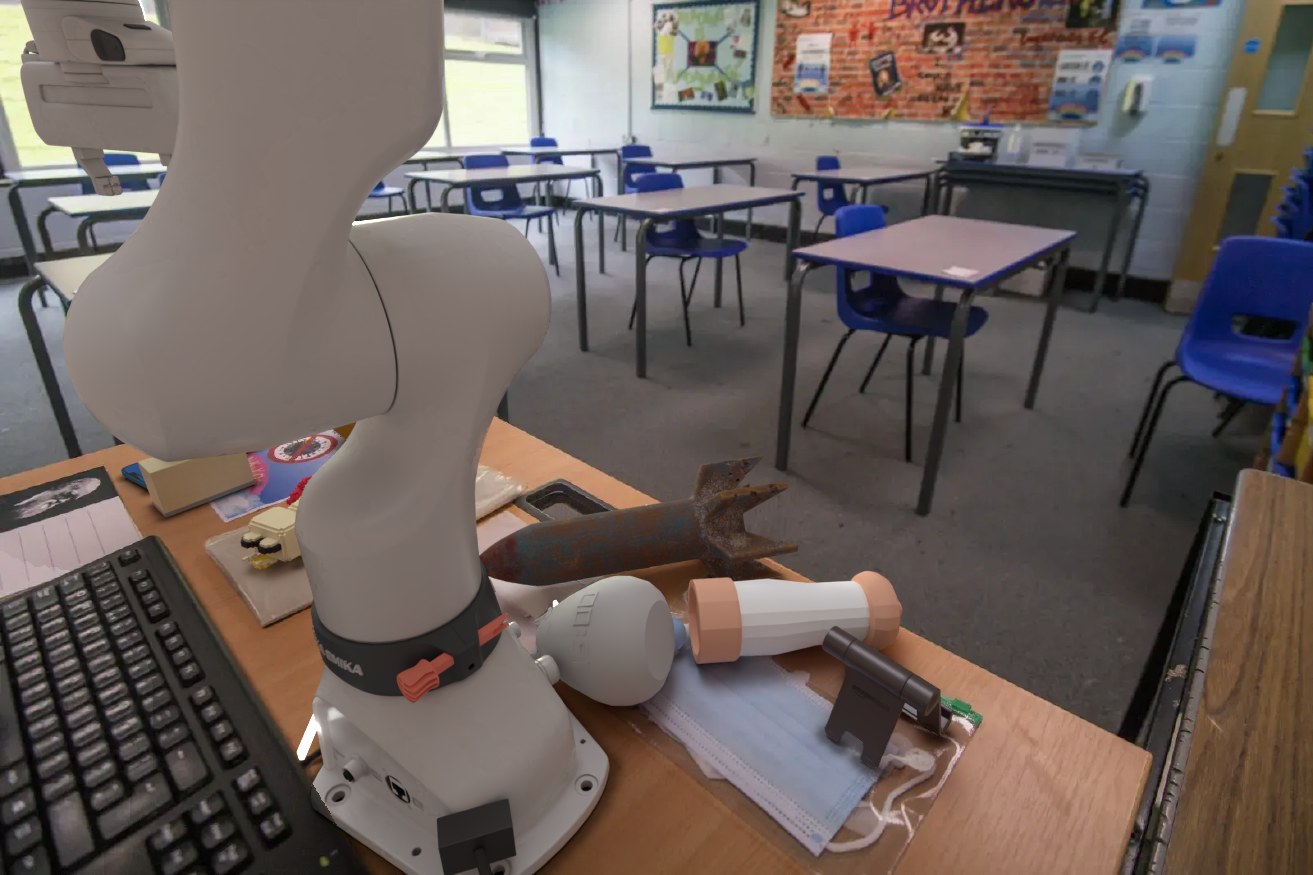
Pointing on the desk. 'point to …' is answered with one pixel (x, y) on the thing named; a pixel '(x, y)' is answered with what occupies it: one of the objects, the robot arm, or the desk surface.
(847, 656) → the tablet stand
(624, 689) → the grey space capsule
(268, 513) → the blocky cream chicken toy
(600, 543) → the rusty missile
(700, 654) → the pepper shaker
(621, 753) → the desk surface
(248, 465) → the block
